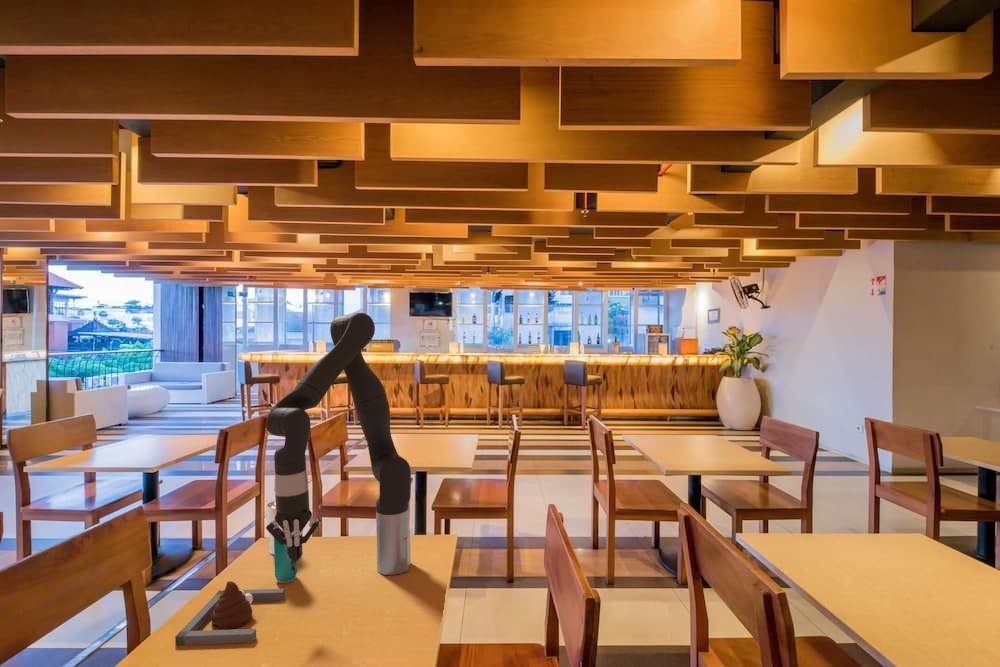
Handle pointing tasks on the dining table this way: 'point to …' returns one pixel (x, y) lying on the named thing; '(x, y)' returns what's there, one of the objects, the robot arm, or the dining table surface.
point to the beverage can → (283, 563)
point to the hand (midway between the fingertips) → (295, 559)
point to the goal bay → (195, 637)
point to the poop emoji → (232, 608)
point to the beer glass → (271, 517)
